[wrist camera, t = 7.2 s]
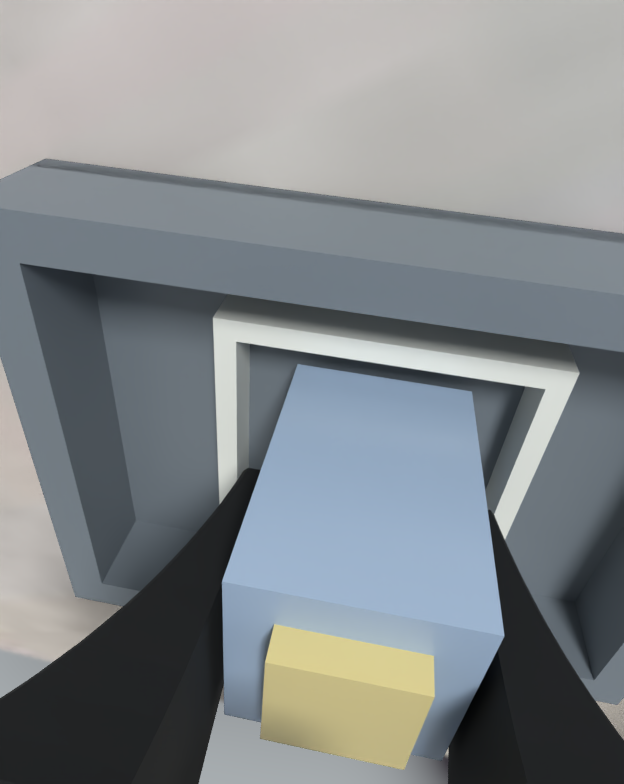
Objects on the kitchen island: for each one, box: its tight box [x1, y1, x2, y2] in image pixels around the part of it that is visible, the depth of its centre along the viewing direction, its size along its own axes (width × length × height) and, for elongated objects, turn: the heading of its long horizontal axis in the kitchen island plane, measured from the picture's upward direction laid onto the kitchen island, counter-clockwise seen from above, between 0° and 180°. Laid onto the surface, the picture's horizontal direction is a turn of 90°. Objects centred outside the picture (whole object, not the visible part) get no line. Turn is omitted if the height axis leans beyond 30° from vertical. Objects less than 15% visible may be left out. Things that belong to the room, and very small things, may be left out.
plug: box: [222, 364, 504, 770], centre depth 11 cm, size 4×4×7 cm
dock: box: [0, 159, 624, 705], centre depth 14 cm, size 16×12×3 cm
